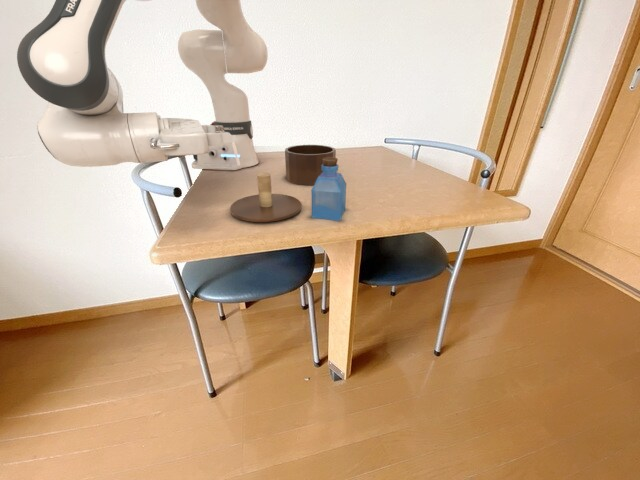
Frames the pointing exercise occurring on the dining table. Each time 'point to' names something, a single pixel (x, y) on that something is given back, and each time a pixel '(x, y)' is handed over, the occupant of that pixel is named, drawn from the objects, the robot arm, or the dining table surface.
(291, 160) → the dark brown pot
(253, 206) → the lid
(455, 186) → the dining table surface
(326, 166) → the perfume bottle
